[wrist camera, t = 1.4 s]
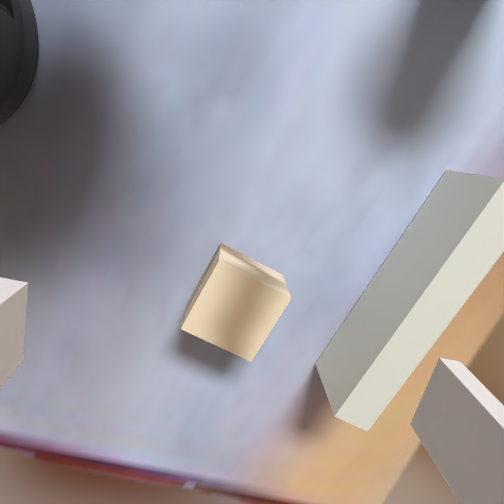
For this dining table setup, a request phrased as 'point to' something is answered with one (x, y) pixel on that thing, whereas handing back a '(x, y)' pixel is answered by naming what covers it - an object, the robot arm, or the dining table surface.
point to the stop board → (414, 295)
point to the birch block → (236, 303)
